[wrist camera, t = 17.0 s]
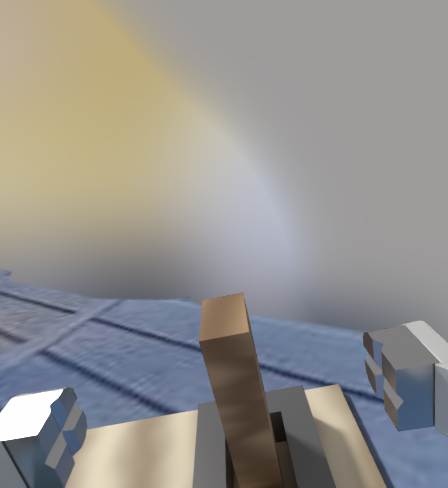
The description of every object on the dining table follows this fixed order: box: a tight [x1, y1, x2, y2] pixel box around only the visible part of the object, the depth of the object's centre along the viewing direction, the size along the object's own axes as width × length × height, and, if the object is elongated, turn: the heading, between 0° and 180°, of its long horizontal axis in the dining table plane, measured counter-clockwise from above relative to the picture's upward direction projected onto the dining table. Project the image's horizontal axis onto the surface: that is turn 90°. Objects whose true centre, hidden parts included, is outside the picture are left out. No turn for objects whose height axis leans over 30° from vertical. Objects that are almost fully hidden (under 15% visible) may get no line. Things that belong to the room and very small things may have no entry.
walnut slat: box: [199, 293, 284, 488], centre depth 25 cm, size 3×5×16 cm, turn 1°
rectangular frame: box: [192, 385, 336, 488], centre depth 27 cm, size 10×12×4 cm
